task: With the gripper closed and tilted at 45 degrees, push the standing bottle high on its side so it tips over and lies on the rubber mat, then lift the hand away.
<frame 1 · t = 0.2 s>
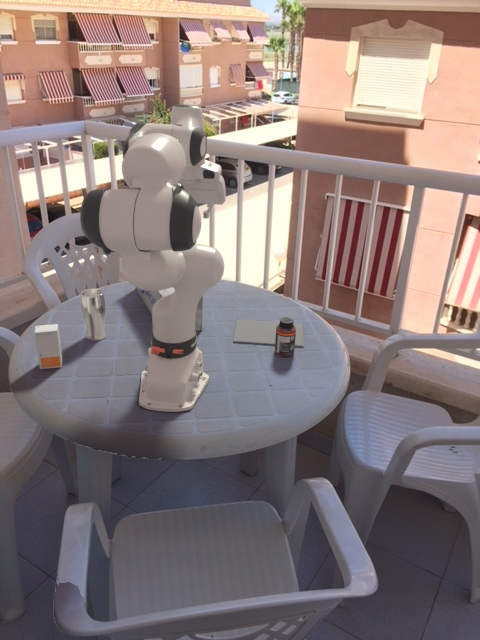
hand: (189, 216, 146), 39 cm above the table, tool pointing down, fingers open, 8 cm apart
soda pack: (166, 309, 182), on the table
skincare box: (51, 365, 147), on the table
rubber mat: (269, 333, 168), on the table
supplement bottle: (284, 353, 158), on the table
beer glass: (96, 336, 163), on the table
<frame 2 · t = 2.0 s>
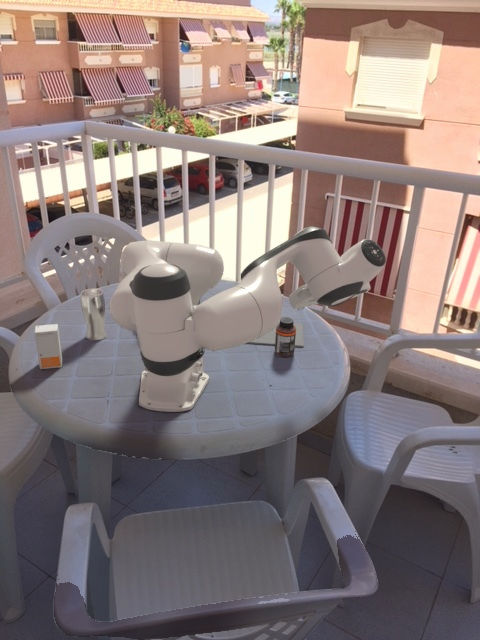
hand: (313, 304, 139), 21 cm above the table, tool tilted 45°, fingers open, 8 cm apart
nothing on the table moved.
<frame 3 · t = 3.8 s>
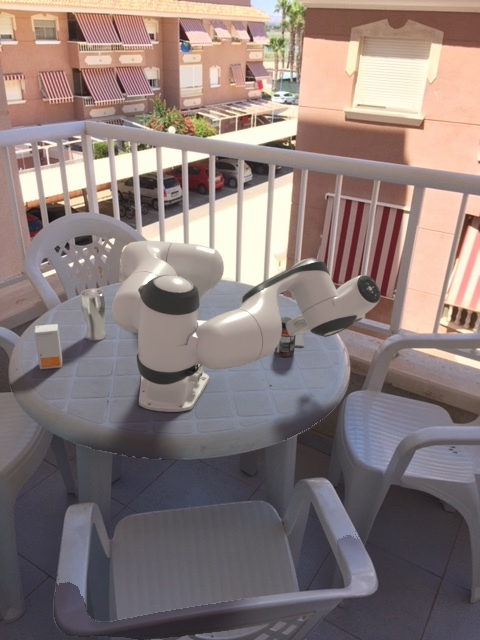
hand: (309, 329, 143), 13 cm above the table, tool tilted 45°, fingers closed
nothing on the table moved.
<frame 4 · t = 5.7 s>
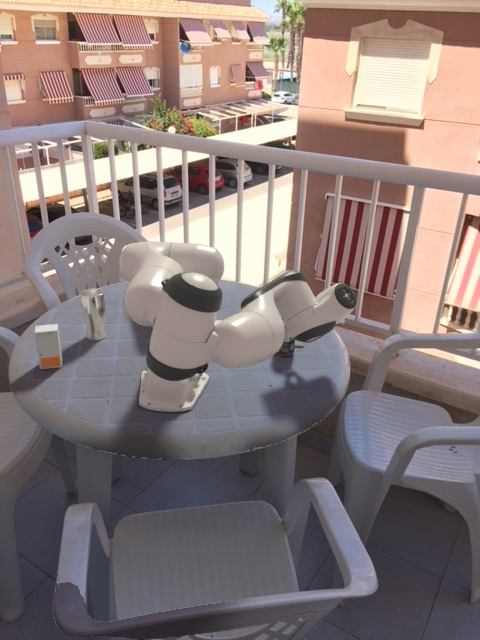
hand: (293, 333, 151), 8 cm above the table, tool tilted 45°, fingers closed
supplement bottle: (284, 352, 158), on the table, touching gripper
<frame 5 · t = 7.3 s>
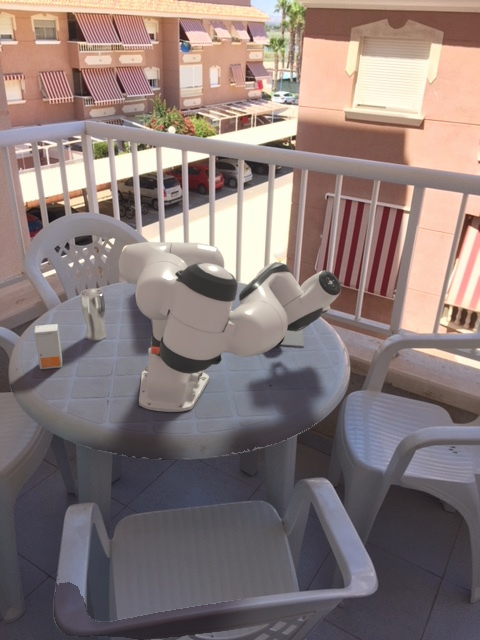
hand: (281, 321, 156), 9 cm above the table, tool tilted 45°, fingers closed
supplement bottle: (276, 339, 158), point 3 cm above the table, touching rubber mat
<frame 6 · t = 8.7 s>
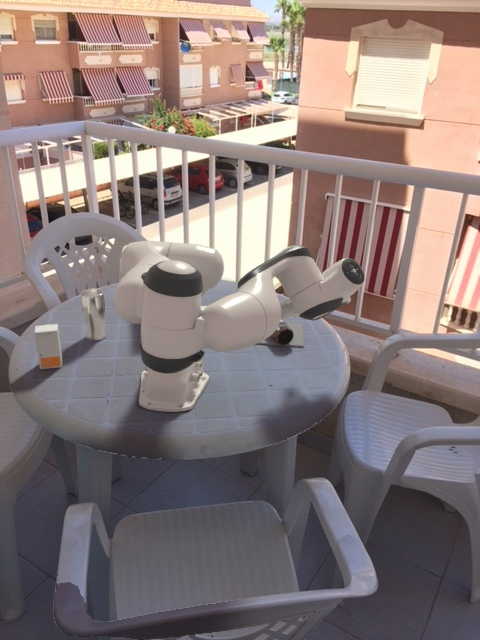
hand: (297, 314, 147), 15 cm above the table, tool tilted 45°, fingers closed
supplement bottle: (285, 337, 159), point 3 cm above the table, touching rubber mat
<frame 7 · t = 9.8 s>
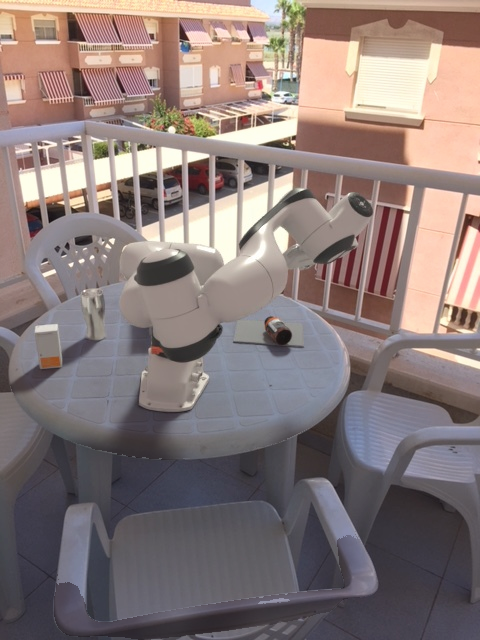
hand: (302, 267, 140), 30 cm above the table, tool tilted 40°, fingers closed
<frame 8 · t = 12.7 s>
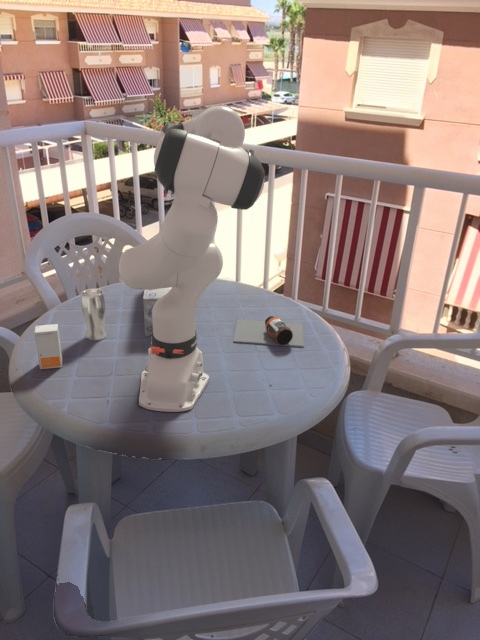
hand: (206, 215, 155), 37 cm above the table, tool pointing down, fingers closed
at the end: supplement bottle tilted 91°; supplement bottle inside the target area (6.5 cm from its centre), point 3.5 cm above the table; supplement bottle touching rubber mat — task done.
